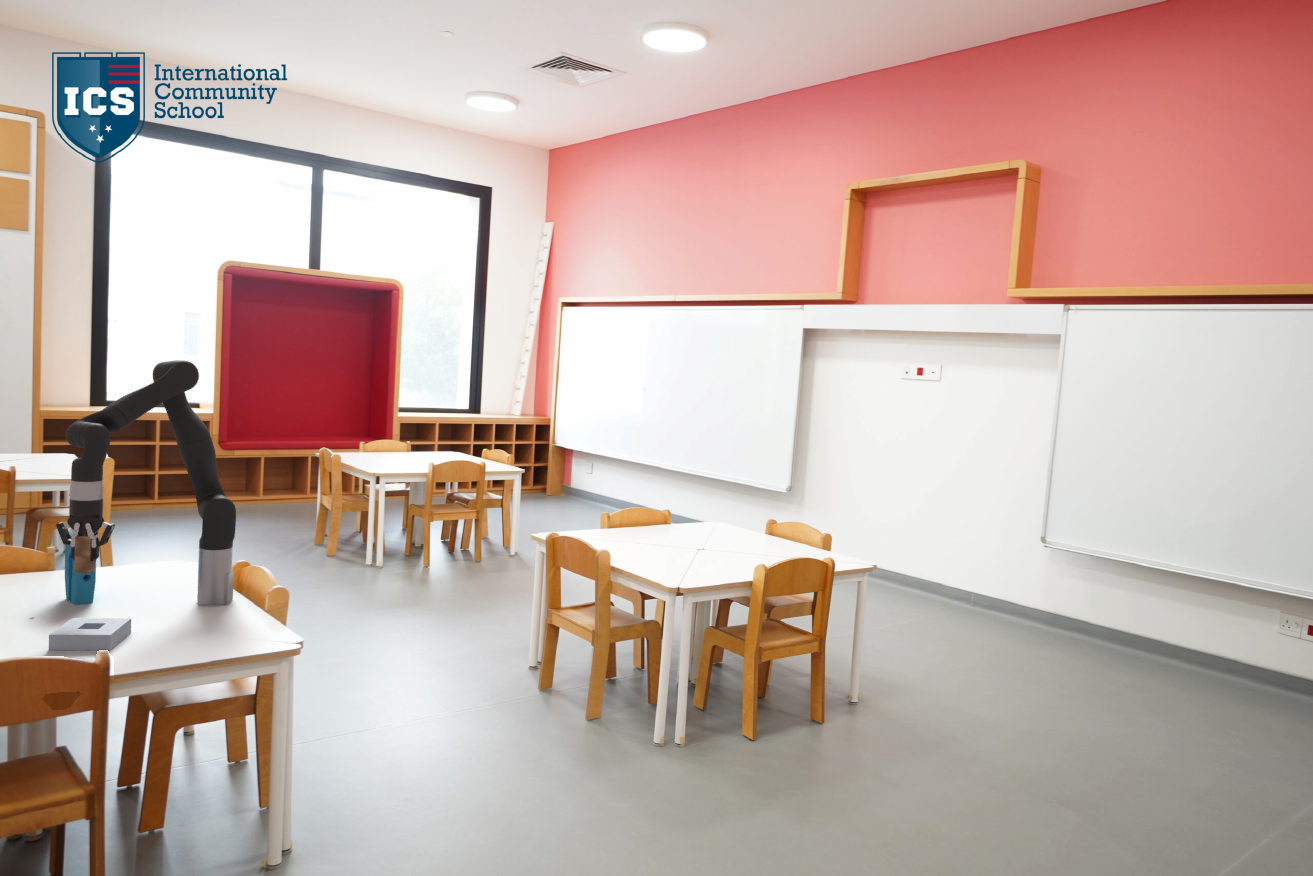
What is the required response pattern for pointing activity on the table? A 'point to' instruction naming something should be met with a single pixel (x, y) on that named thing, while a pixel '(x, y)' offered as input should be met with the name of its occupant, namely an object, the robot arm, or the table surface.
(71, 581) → the block
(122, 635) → the socket block
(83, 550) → the walnut peg
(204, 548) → the robot arm
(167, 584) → the table surface
